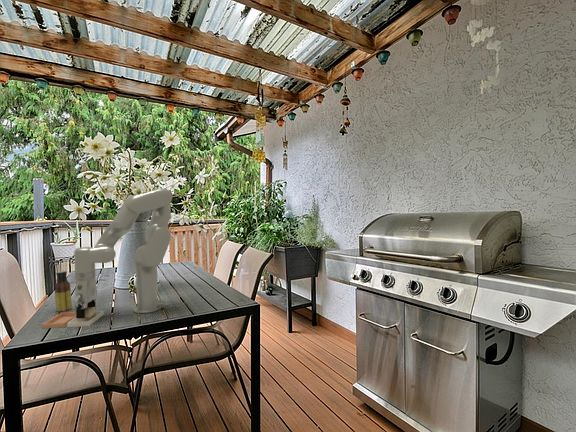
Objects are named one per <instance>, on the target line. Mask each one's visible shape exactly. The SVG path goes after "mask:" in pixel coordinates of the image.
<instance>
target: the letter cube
mask: <svg viewBox="0 0 576 432" xmlns="http://www.w3.org/2000/svg"><path fill="white" fill-rule="evenodd" d="M84 308H85V318H78V322H88V321H90V320H91V319H92V318H94V317H95V311H96V310H95V307H88V306H86V307H85V306H84Z"/></svg>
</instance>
